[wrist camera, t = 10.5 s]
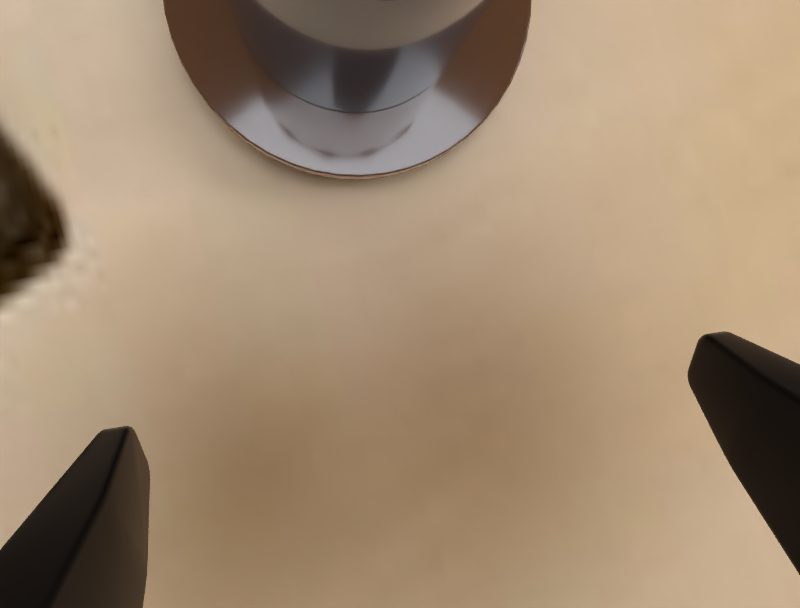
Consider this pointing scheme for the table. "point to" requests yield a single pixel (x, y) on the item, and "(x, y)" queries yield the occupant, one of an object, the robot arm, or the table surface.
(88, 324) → the table surface
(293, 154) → the mug
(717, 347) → the robot arm
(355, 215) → the table surface
